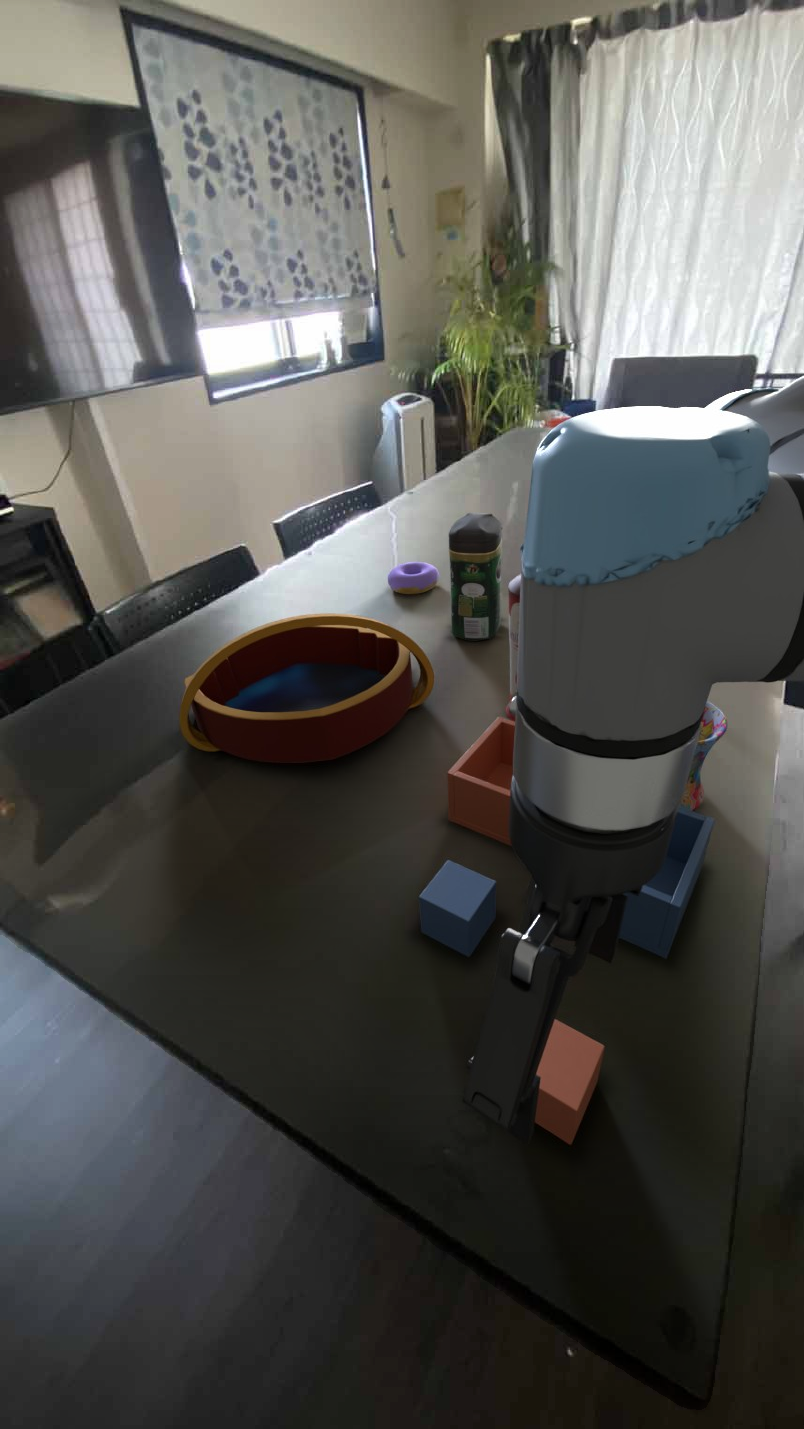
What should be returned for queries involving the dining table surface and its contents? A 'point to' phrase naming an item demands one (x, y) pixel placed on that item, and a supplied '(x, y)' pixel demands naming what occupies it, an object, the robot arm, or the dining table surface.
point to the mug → (703, 754)
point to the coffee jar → (475, 576)
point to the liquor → (513, 635)
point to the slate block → (458, 907)
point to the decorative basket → (304, 689)
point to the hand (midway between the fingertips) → (556, 1029)
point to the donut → (413, 578)
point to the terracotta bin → (484, 783)
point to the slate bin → (668, 886)
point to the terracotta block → (566, 1080)
